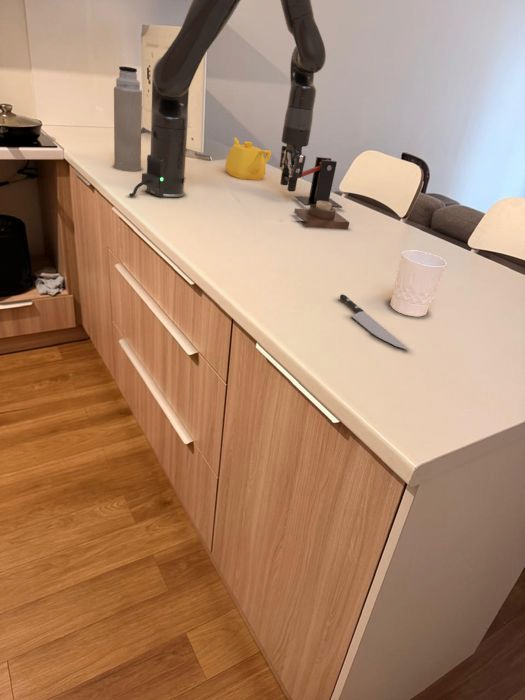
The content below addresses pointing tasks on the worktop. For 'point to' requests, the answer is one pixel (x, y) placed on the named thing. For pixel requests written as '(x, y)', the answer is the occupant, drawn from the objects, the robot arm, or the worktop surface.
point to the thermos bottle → (127, 120)
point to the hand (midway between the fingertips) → (287, 187)
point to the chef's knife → (371, 323)
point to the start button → (323, 205)
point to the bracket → (321, 183)
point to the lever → (305, 172)
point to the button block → (321, 218)
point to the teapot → (247, 161)
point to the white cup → (416, 282)
